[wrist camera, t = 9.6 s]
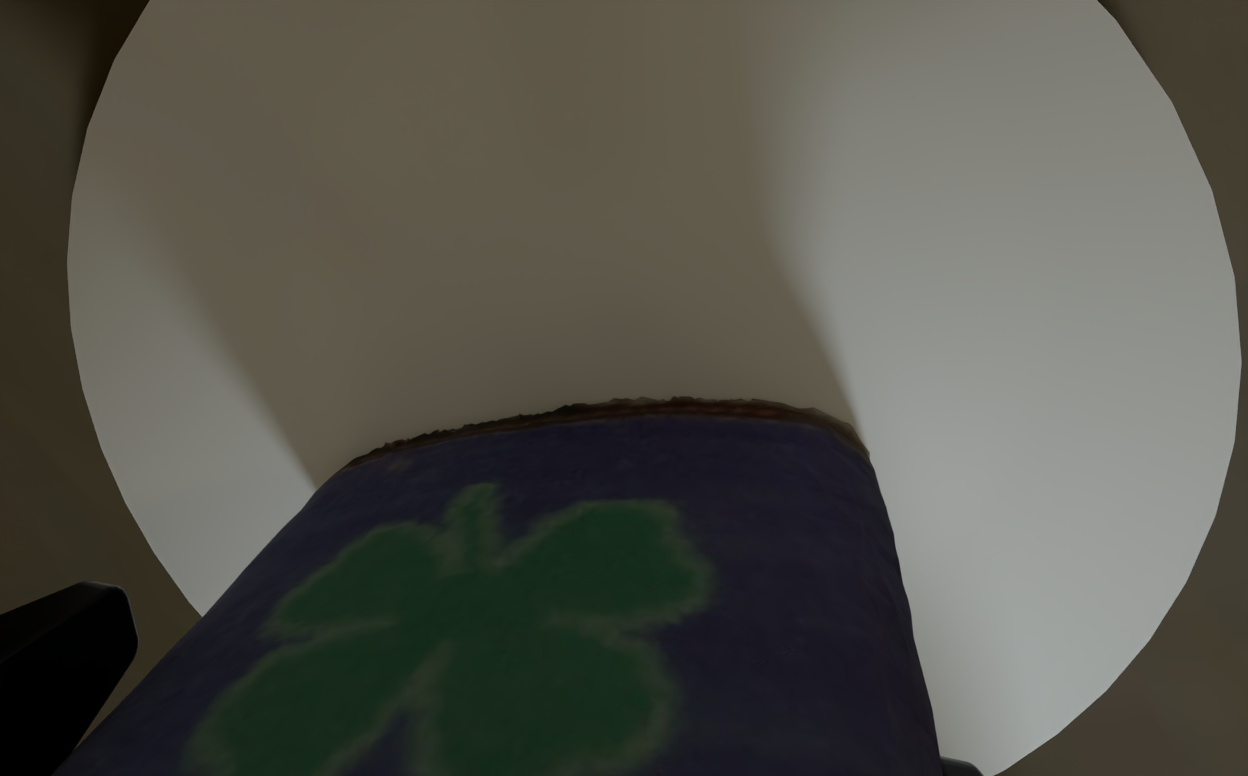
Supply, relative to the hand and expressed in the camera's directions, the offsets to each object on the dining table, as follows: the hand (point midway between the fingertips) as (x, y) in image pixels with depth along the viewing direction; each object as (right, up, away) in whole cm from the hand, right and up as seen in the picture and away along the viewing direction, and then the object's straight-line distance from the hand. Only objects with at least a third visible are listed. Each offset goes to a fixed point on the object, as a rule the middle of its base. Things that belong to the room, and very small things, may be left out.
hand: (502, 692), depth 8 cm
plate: (+1, +3, +5) cm, 6 cm away
